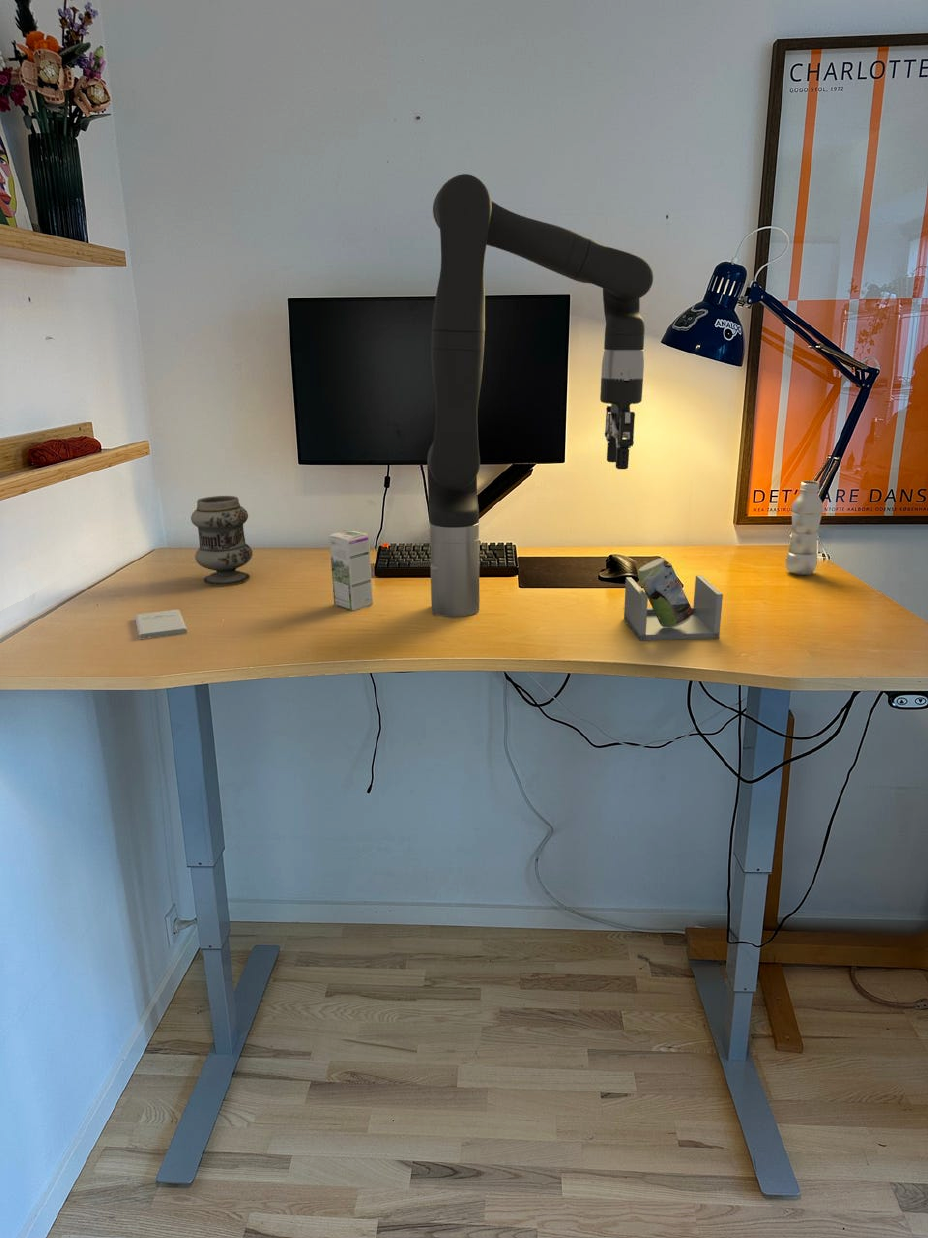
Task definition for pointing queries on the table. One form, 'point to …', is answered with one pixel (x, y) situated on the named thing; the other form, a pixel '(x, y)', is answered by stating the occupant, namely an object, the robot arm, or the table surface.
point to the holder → (697, 627)
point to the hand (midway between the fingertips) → (617, 465)
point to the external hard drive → (160, 624)
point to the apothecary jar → (222, 539)
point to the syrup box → (351, 569)
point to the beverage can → (665, 593)
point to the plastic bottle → (805, 530)
